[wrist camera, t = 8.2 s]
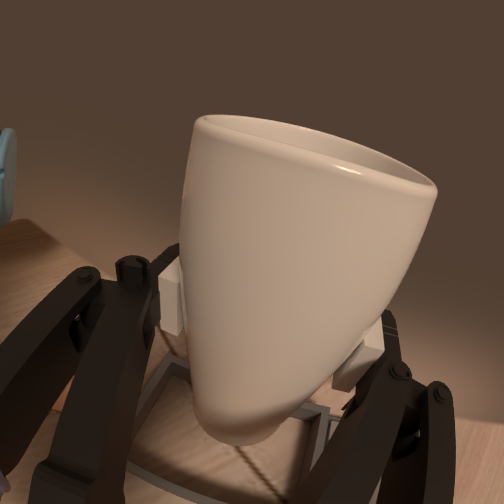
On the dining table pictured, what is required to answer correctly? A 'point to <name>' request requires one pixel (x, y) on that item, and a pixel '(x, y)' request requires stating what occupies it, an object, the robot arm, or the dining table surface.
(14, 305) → the dining table surface
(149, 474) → the open case
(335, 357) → the drinking glass
